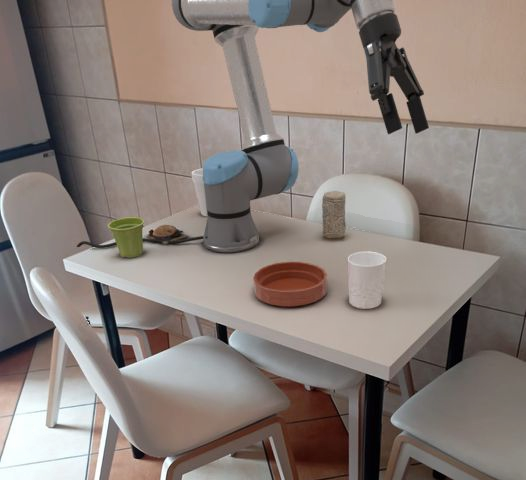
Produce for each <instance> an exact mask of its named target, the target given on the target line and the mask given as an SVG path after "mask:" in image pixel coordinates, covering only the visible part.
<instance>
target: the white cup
mask: <svg viewBox="0 0 526 480" xmlns="http://www.w3.org/2000/svg"><path fill="white" fill-rule="evenodd" d="M387 259H388V258H387V257H386V256H385V254H383V253H380V252H375V251H365V250H364V251H357V252H354V253H351V254H349V255H348V257H347V285H348V297H349V299H348V302H349V304H350V305H351V306H352V307H354V308H357V309H361V310H368V309H369V310H371V309H374V308H378V307H379V306H380V305H381V304H382V299H383V298H382V296H383V291H384V287H385V277H386V269H387Z"/></svg>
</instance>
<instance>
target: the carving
mask: <svg viewBox="0 0 526 480" xmlns="http://www.w3.org/2000/svg"><path fill="white" fill-rule="evenodd" d="M321 201H322V204H321V211H322V215H321V217H322V235H323V237H324V238H326V239H341V238H344V237H345V235H346V230H347V226H346V225H347V224H346V193H345V192H344V191H337V190H333V191H327V192H325V193H323V196H322V199H321Z"/></svg>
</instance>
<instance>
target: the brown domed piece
mask: <svg viewBox="0 0 526 480" xmlns="http://www.w3.org/2000/svg"><path fill="white" fill-rule="evenodd" d="M146 237H147V238H148V239H158V240H163V243H162V244H163V245H165V246H166V245H169V244H168V242H166V241H165V240H169V241H176V240H183V239H187V238H188V235H186V234H184V231H183V230H180V229H179V228H177V227H176V226H174V225H171V224H162V225H159V226H157V227H156V228H154V229H153V228H152V229H149V231H148V234H147V236H146Z"/></svg>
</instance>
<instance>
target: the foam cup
mask: <svg viewBox="0 0 526 480" xmlns="http://www.w3.org/2000/svg"><path fill="white" fill-rule="evenodd" d="M191 180H192V182H193V187H194V191H195V195H196V198H197V199H196V200H197V203H198V207H199V211H200V214H201V216H203V217H207V207H206V198H205V189H204V182H203V167H202V168H197V169H194V170H193V171H191Z"/></svg>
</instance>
